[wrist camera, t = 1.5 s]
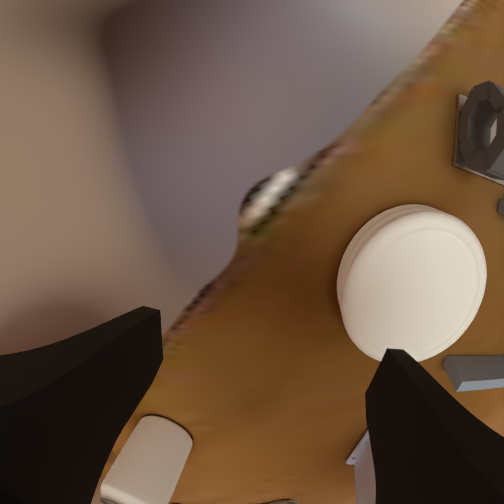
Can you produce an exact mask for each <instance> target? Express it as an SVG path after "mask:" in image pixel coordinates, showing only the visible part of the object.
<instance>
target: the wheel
mask: <svg viewBox="0 0 504 504" xmlns="http://www.w3.org/2000/svg"><path fill="white" fill-rule="evenodd" d="M461 112H462V114H461V115H460V127H459V141H458V142H459V143H460V145H459V147H460V150H461V152H462V155H463V157H464V160H465V162H466V165H467V167H468V168H469V169H470V170H473V171H475V172H478V173H480V174H483V175H485V176H487V177H490V178H492V179H498V180H504V88H502V87H501V86H499V85H497V84H496V83H494V82H491V81H487V82H485V83H482V84H479V85H476V86H474V87H473V89H471V91H470V93H469V95H468V97H467V100H466V102H465V104H464V106H463V108H462V110H461ZM496 119H497V126H496V136H495V137H494V139H493V140H492V142H491V144H490V139H491V127H492V126H493V124H494V122H495V120H496Z"/></svg>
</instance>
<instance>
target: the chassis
mask: <svg viewBox="0 0 504 504" xmlns="http://www.w3.org/2000/svg"><path fill="white" fill-rule="evenodd" d="M497 212H498V213H501V214H504V200H503V199H500V200H499V206H498V211H497ZM442 365H443V367H444V369H445V371H446V373H447V375H448V377H449V378H450V380H451V382H452V384H453V386H454V388H455V390H456V392H458V391H471V390H482V389H491V388H499V387H504V355H494V356H454V355H447V356H446V358H445V360H444V362H443V364H442Z"/></svg>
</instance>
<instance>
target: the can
mask: <svg viewBox="0 0 504 504" xmlns="http://www.w3.org/2000/svg"><path fill="white" fill-rule="evenodd" d="M192 444H193V442H192V439H191V437H190V435H189V433H188V432H187V431H186V430H185V429H184V428H183V427H182V426H180V425H179V424H177V423H176V422H174V421H172V420H170V419H167V418H164V417H161V416H155V415H151V416H146V417H143V418H142V419H141V420H140V421H139V423H138V424H137V426H136V427H135V429H134V431H133V432H132V434H131V436H130V437H129V439H128V440H127V442H126V444H125V445H124V447H123V449H122V450H121V452H120V454H119V455H118V457H117V459H116V461H115V462H114V464H113V465H112V467H111V469H110V470H109V472H108V474H107V475H106V477H105V479H104V481H103V482H102V485H101V497H99V498H98V499H99V500H100V502H101V503H103V504H169V501H170V499H171V496H172V494H173V492H174V489H175V487H176V485H177V482H178V480H179V477H180V475H181V472H182V470H183V468H184V465H185V463H186V460H187V458H188V455H189V453H190V450H191V447H192Z"/></svg>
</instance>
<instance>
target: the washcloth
mask: <svg viewBox="0 0 504 504" xmlns="http://www.w3.org/2000/svg"><path fill="white" fill-rule="evenodd" d="M264 504H301V503H298V502H296V501H294V500H281V501H275V502H270V503H264Z"/></svg>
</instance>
